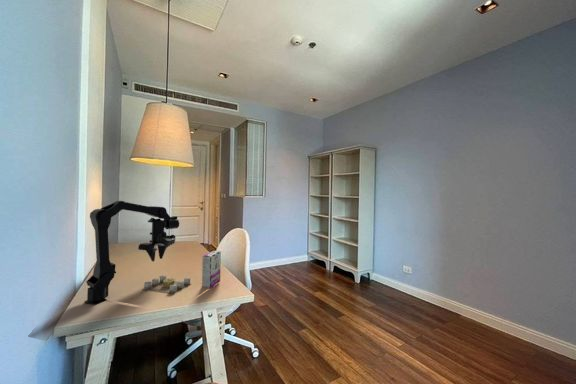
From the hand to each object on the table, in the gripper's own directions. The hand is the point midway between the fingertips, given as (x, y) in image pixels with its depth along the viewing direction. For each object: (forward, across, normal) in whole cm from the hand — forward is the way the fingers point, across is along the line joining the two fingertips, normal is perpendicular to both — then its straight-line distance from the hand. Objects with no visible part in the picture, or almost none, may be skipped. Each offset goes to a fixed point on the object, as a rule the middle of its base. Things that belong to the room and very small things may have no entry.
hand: (157, 260), depth 123 cm
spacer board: (+12, -7, -10) cm, 17 cm away
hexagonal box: (+11, -3, -10) cm, 16 cm away
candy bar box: (+12, +7, -28) cm, 31 cm away
